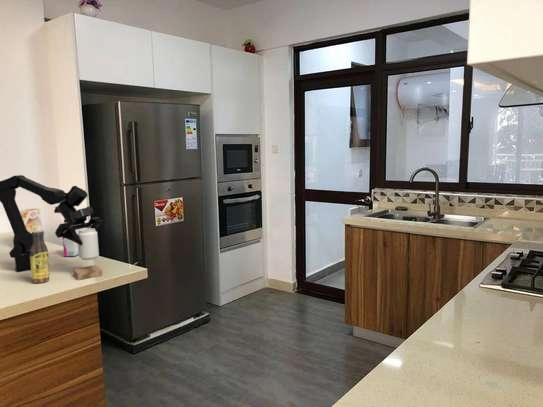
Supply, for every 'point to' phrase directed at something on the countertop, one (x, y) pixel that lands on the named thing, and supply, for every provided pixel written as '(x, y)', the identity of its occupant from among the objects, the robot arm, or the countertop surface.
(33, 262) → the sauce bottle
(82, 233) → the can
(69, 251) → the supplement box
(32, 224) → the coffeecake box
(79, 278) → the walnut plinth
